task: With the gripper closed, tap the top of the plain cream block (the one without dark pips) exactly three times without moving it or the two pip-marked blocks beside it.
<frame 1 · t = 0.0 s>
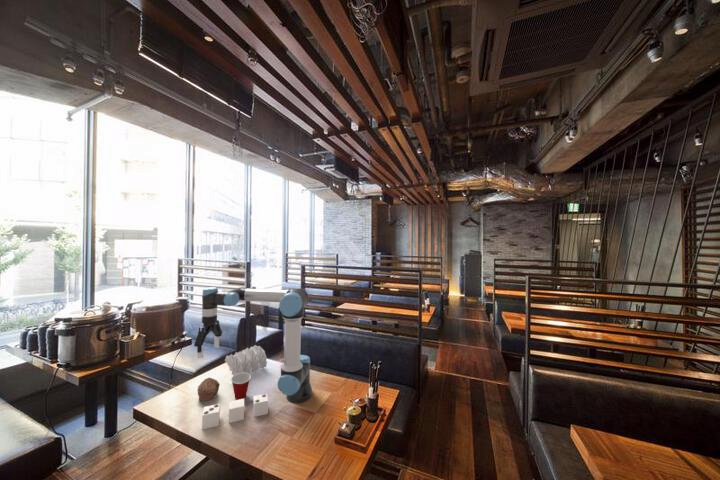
hand: (208, 352, 149), 28 cm above the table, fingers open, 13 cm apart
block two pips: (260, 411, 142), on the table
plastic cup: (240, 397, 154), on the table
block three pips: (211, 423, 132), on the table
blank block: (236, 417, 137), on the table
coconut: (208, 397, 154), on the table
white ruffled irregular piece: (248, 374, 181), on the table
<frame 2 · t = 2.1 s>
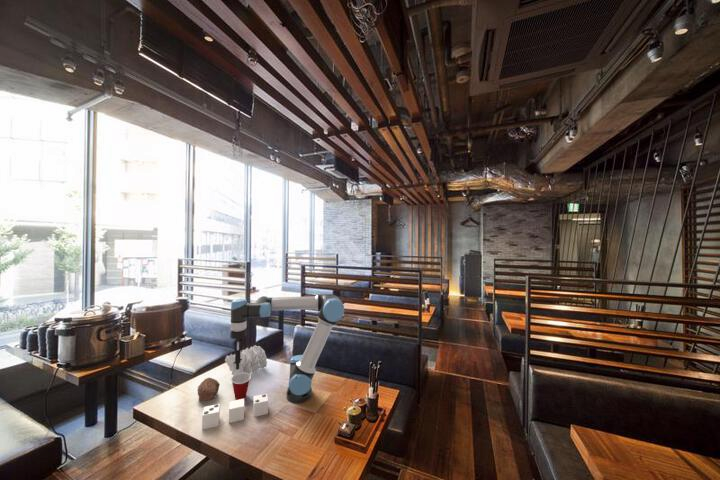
hand: (237, 374, 137), 22 cm above the table, fingers closed
nothing on the table moved.
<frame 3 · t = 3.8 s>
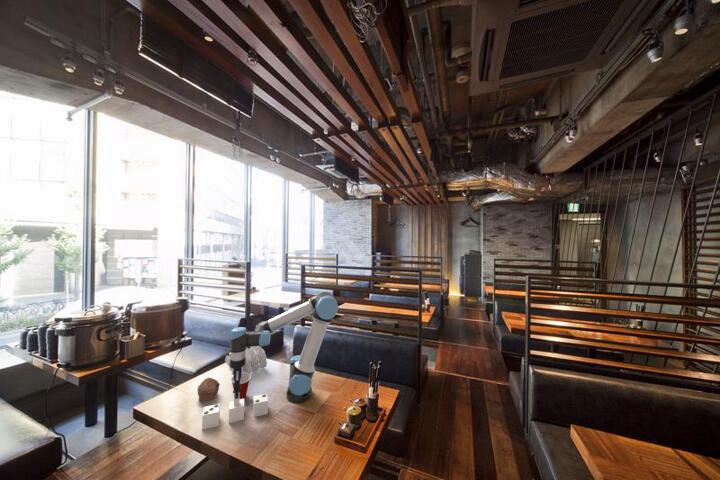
hand: (236, 403, 137), 7 cm above the table, fingers closed
blank block: (236, 417, 137), on the table, touching gripper
everything else where it was.
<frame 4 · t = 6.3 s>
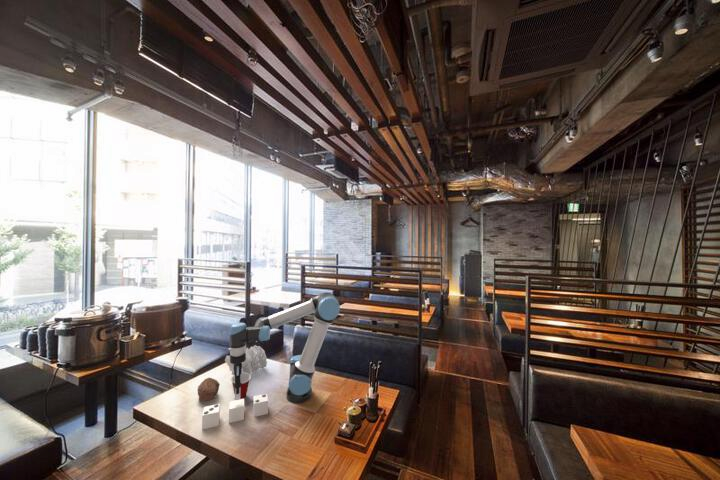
hand: (237, 398, 137), 9 cm above the table, fingers closed
blank block: (236, 417, 137), on the table
everything else where it was.
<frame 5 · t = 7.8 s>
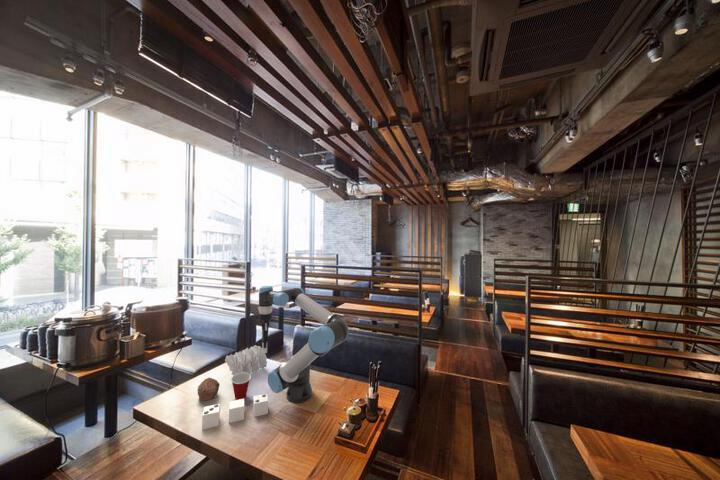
hand: (264, 352, 155), 26 cm above the table, fingers closed
nothing on the table moved.
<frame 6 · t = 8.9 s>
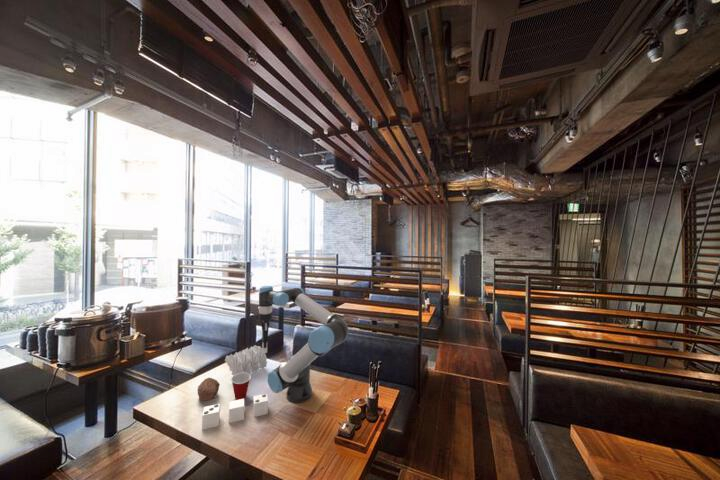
hand: (264, 352, 155), 26 cm above the table, fingers closed
nothing on the table moved.
at the end: blank block moved 0.1 cm from its start; block two pips moved 0.1 cm from its start; block three pips moved 0.1 cm from its start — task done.
